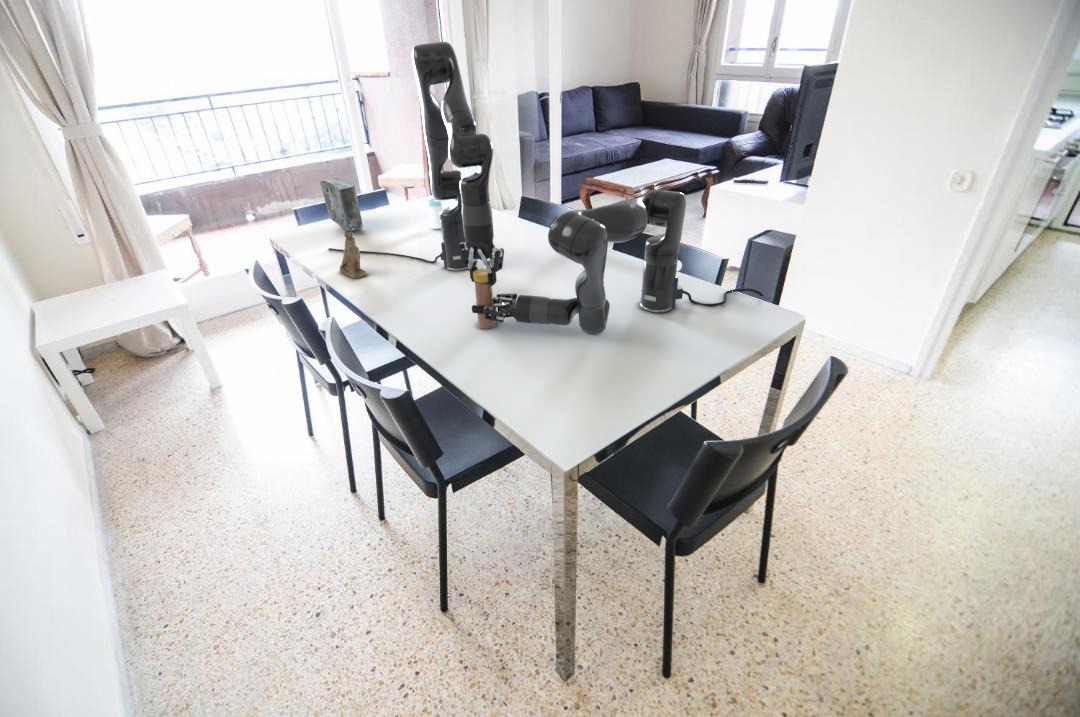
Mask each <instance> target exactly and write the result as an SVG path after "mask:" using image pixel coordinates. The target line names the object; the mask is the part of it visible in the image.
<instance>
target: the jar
mask: <svg viewBox="0 0 1080 717" xmlns="http://www.w3.org/2000/svg"><path fill="white" fill-rule="evenodd" d="M473 283H474V292H475V303H476V304H475V305H482V306H492V305H493V297H494V292H493V286H489V283H488V282H476V281H475V282H473ZM489 310H493V309H489ZM476 315H477V326H478V327H479V328H480V329H483V330H486V329H492V328H493V327H495V325H496V321H492V320H488V319H485V314H478V313H476Z"/></svg>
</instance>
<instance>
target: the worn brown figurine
mask: <svg viewBox="0 0 1080 717" xmlns="http://www.w3.org/2000/svg"><path fill="white" fill-rule="evenodd" d="M343 236H344V238H346V239H345V240H344V249H343V250H344V252H342V254H343V255H342V261H341V264H340V266H339V273H341V274H343V275H344V276H347V277H350V278H352V279H356V280H357V279H360V278H362V277H366V276H367V273H366V271H365V270H363V269H362V268H361V253H360V251H361V250H360V249H359V247H358V246H357V244H356V243H357V242H356V239H355V237H354V234H353V230H352V231H350V230H348V231H347V230H345V232H344V234H343Z"/></svg>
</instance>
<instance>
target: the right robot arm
mask: <svg viewBox="0 0 1080 717" xmlns="http://www.w3.org/2000/svg"><path fill="white" fill-rule="evenodd" d="M686 212H687V197H686V195H685V194H684V193H682V192H680V191H672V190H663V189H652V190H649V191H647V192H646V193H644V194H642V195H639V196H638V197H634V198H630V199H624V200H619V201H615V202H614V203H611V204H607V205H603V206H598V207H593V208H588V209H575V210H567V211H565V212H563V213H562V214H560V215H559V216H557V217H556V218H555V219H554V221H553V222H552V224H551V225H550V227H549V230H548V233H547V242H548V244H549V246H550V248H551V249H552V250H553V251H555V253H557V254H558V255H560V256H562V257H565V258H566V259H568V260H570V261H572V262H574V263H575V264H579V265H581V266H582V267H583V269H584V270H583V271H582V272H581V273H579V275H578V276H577V278H576V280H575V284H574V291H575V295H576V297H573V298H566V299H565V298H554V297H553V298H552V297H548V296H541V295H540V296H539V295H530V294H529V295H528V294H519V295H518V293H497V294H496V296H493V305H492V306H482V305H476V304H472V305H471V312H472V313H473V314H477V313H478V314H485V319H488V320H492V321H495V323H496V322H497V323H501V324H503V323H504V322H505V319H506V318H514V319H515V321H516V322H517V323H521V324H532V325H550V326H551V325H554V326H561V327H562V326H565V327H566V326H570V325H571V324H572V322H573V320H574V318H575V317H576V315H578V324H579V325H578V326H579V327H580V329H581V331H582V332H583V333H585V334H586V335H588V336H593V337H595V336H599V335H601V334H603V333H604V332H605V330H606V329H607V327H608V321H609V315H610V308H611V306H610V301H609V299H607V298H606V297H607V295H606V288H605V272H606V266H607V265H606V263H607V255H608V246H609V243H611V244H612V243H613V244H618V243H625V242H628V241H631V240H633V239H636V238H638V237H639V236H640V235H642V234H643V232H644V231H645V230H646V228H647V227H648V226H649V225H650V226H656V227H661V228H665V232H664V233H663V234H658V235H653V236H650V237H649V238H647V239H646V240H645V245H644V255H643V256H644V258H643V269H642V281H641V294H640V303H639V305H640V308H641V309H643V310H644V311H646V312H649V313H654V314H655V313H656V314H657V313H658V314H659V313H660V314H661V313H666V312H670V311H671V310H675V309H676V304H677V303H676V302H677V300H682V299H683V296H684V295H686V296H687V297H688V298H687V299H688V301H689V302H690V303H692V304H695V305H698V306H699V305H700V306H704V307H717V306H723V305H724V304H726V303H727V299H728V298H727V295H728V294H731V293H736V292H751V293H755V294H757V295H758V296H760V297H765V296H764V294H763V293H762V292H761V291H759V290H757V289H754V288H749V287H741V288H734V289H729V290H730V291H729V290H726V291H725V292H724V293H723V300H722V301H720V302H713V303H705V302H704V303H703V302H699V301H696V300H693V299H692V294H691V293H690V292H689V291H686V290H684V288H683V287H682V286H681V285H679V278H678V276H677V268H678V260H679V252H680V245H681V241H682V236H683V229H684V223H685V218H686ZM732 291H733V292H732ZM683 294H684V295H683ZM489 309H493V310H489Z"/></svg>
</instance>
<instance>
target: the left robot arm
mask: <svg viewBox="0 0 1080 717" xmlns="http://www.w3.org/2000/svg"><path fill="white" fill-rule="evenodd" d="M411 60H412V67H413V72H414V77H415V81H416V85H417V92H418V96H419V101H420V102H419V103H420V107H421V109H420V110H421V116H422V126H423V127H422V128H423V134H424V141H425V146H426V151H427V157H428V167H429V179H430V181H429V182H430V189H431V194H432V196H433V199H436V200H440V201H442V202H443V201H454V203H452V204H451V205H450V206H448V207H445V208H444V210H442V211H441V212H440V223H441V229H440V230H441V235H442V242H441V243H440V246H441V250H442V251H441V252H440V254H438V255H437V256H435V258H434V260H432V261H431V260H427V259H424V258H422V257H416V256H412V255H406V254H400V253H393V252H383V251H370V250H369V251H368V250H359V251H360V254H374V255H384V256H385V255H386V256H394V257H395V256H396V257H401V258H408V259H413V260H418V261H422V262H424V263H428V264H435V263H437V261H438V259H439V258H440V260H441V261H443V267H444V269H445V270H449V271H454V272H459V271H467V270H468V271H469V279H470V280H471V282H472V283H474V282H475V281H474V279H473V272H474V271H475V270H477V269H478V261H479V260H480V261H482V263H483V265H484V266H485V268H486V269H487V270H488V272H489V273H488V283H489V286H492V287H493V286H494V285H495V284H496V283H497V272H498V271H500V270H502V269H503V264H504V256H505V249H504V248H503V247H501V248H498V247H496V246H495V243H494V238H495V235H494V234H495V232H494V221H493V220H494V219H493V211H492V206H491V196H490V185H489V184H490V175H491V168H492V164H493V158H494V144H493V142H492V139H491V138H490V137H489V135H487V134H485V133H476V131H477V123H476V120H475V118H474V115H473V113H472V110H471V108H470V105H469V102H468V99H467V96H466V91H465V85H464V82H463V77H462V74H461V70H460V64H459V61H458V58H457V55H456V52H455V49H454V47H453V46H452V44H451V43H450V42H448V41H437V42H436V41H435V42H429V43H428V42H427V43H421V44H416V45H414V47H413V48H412V52H411ZM443 84H448V87H447V89H446V91H445V93H444V95H443V98H442V101H441V102H440V101H439V100H438V98H437V97H436V96H435V94H434V93H433V90H432V89H431V86H435V85H443ZM448 159H449V161H450V163H451V164H452V165H453V166H454V167H456V168H458V169H465V168H475V167H476V170H475V172H473V174H470V175H468V176H465V177H464V176H463V174H462V172H461V170H457V169H454V170H453V169H451V170H442V169H443V167H444V165H445V163H446V162H447V161H448ZM328 251H334V252H342V253H344V249H341V248H331V247H329V248H328Z"/></svg>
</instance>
